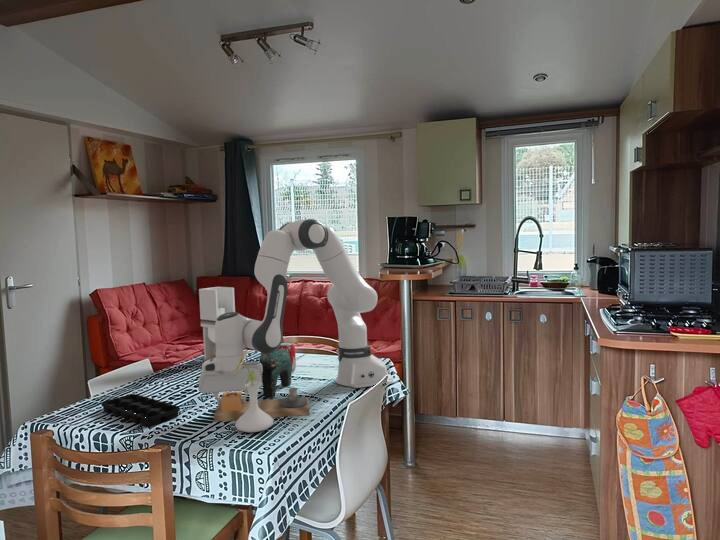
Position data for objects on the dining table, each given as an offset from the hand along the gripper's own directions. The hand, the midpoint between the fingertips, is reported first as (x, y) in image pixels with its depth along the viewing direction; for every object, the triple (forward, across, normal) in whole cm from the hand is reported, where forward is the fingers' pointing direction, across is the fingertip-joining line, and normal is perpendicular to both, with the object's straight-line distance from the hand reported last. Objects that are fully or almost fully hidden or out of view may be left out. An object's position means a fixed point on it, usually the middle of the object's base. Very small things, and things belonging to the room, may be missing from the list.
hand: (231, 404), depth 168 cm
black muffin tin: (+4, +31, -7) cm, 32 cm away
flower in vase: (+4, -8, +15) cm, 18 cm away
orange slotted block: (+1, 0, 0) cm, 1 cm away
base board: (+3, -10, 0) cm, 11 cm away
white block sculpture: (+4, +13, -71) cm, 72 cm away
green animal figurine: (+4, -14, -22) cm, 26 cm away
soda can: (+4, -18, -50) cm, 53 cm away
